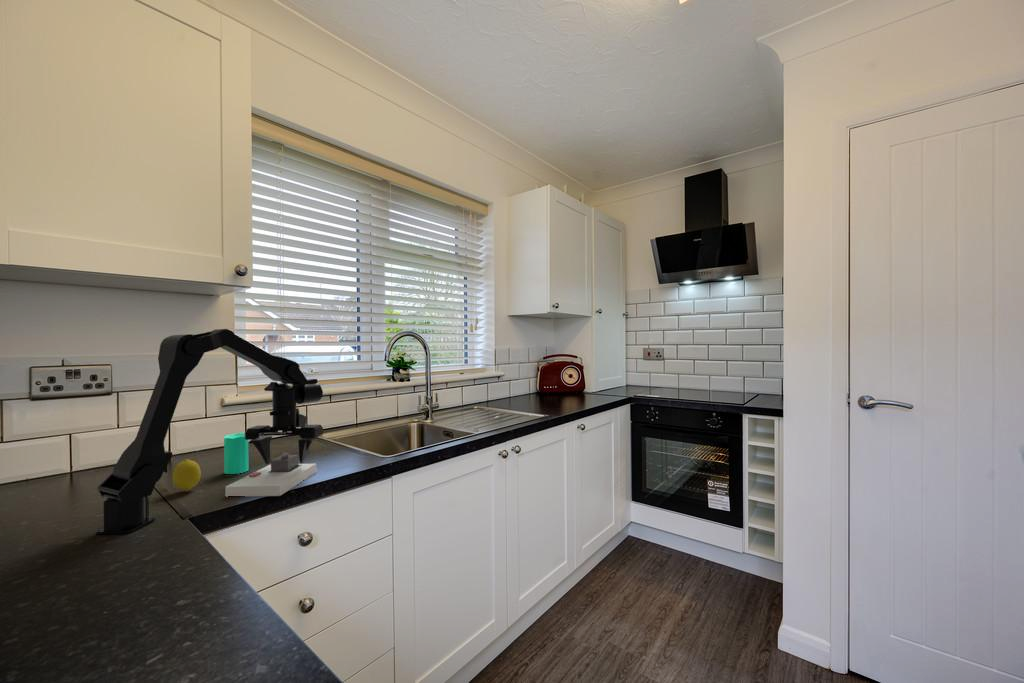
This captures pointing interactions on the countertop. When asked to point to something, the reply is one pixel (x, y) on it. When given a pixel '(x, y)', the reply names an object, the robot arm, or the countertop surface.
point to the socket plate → (270, 481)
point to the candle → (236, 453)
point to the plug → (284, 463)
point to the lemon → (186, 475)
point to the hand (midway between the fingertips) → (285, 463)
